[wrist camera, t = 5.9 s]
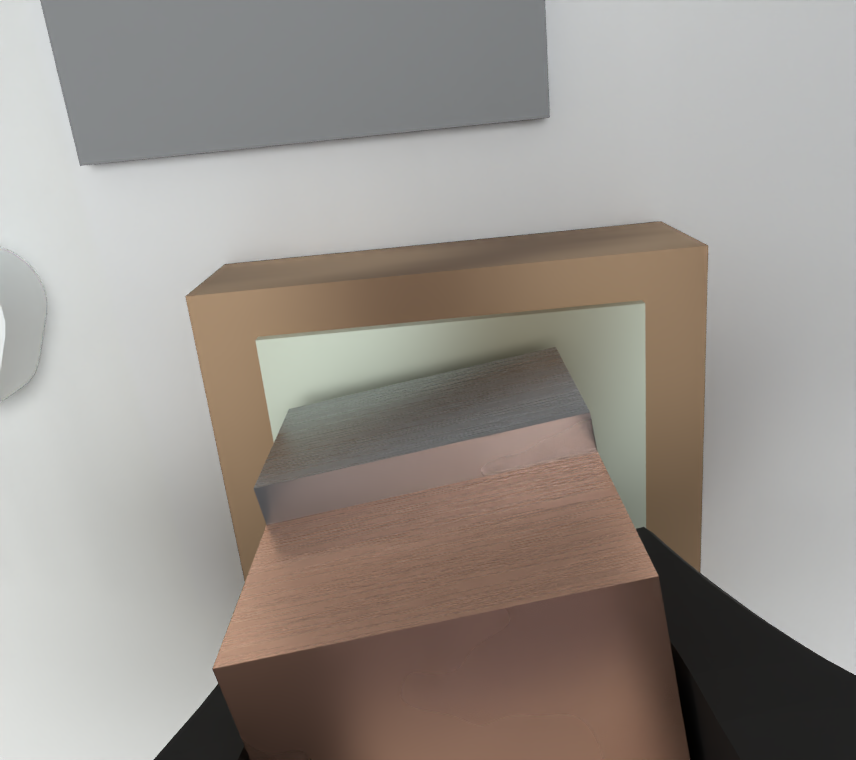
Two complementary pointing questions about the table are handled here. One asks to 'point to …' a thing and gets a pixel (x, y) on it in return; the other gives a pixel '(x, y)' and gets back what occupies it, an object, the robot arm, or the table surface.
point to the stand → (472, 348)
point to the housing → (450, 583)
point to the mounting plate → (19, 322)
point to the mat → (289, 70)
